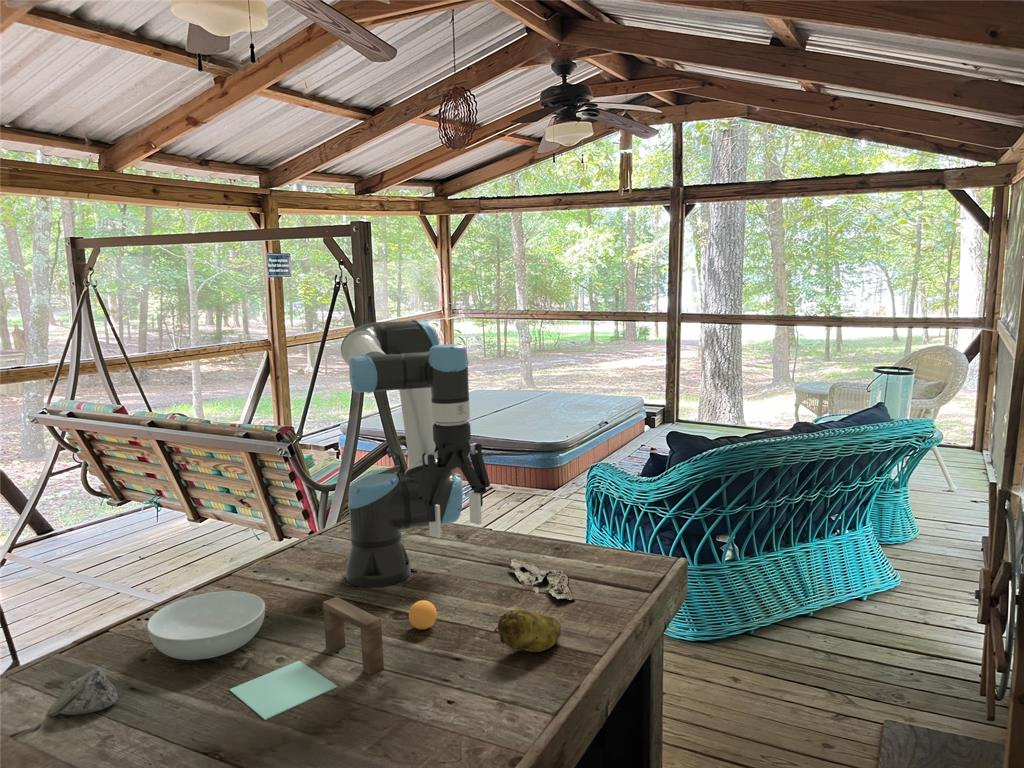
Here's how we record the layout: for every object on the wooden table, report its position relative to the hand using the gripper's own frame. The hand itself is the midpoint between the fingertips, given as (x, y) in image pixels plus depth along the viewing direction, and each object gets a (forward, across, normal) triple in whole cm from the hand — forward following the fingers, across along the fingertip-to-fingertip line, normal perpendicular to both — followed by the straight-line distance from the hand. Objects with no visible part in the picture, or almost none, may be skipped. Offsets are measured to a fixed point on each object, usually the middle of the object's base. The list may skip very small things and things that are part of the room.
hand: (456, 529), depth 151 cm
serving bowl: (+18, -42, +25) cm, 52 cm away
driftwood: (+18, +22, -2) cm, 29 cm away
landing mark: (+18, -40, 0) cm, 43 cm away
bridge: (+18, -26, 0) cm, 31 cm away
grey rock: (+18, -64, +20) cm, 70 cm away
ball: (+15, -10, 0) cm, 18 cm away
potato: (+18, -2, -22) cm, 28 cm away
